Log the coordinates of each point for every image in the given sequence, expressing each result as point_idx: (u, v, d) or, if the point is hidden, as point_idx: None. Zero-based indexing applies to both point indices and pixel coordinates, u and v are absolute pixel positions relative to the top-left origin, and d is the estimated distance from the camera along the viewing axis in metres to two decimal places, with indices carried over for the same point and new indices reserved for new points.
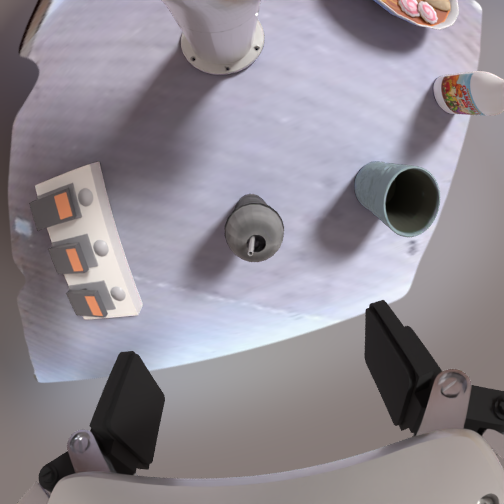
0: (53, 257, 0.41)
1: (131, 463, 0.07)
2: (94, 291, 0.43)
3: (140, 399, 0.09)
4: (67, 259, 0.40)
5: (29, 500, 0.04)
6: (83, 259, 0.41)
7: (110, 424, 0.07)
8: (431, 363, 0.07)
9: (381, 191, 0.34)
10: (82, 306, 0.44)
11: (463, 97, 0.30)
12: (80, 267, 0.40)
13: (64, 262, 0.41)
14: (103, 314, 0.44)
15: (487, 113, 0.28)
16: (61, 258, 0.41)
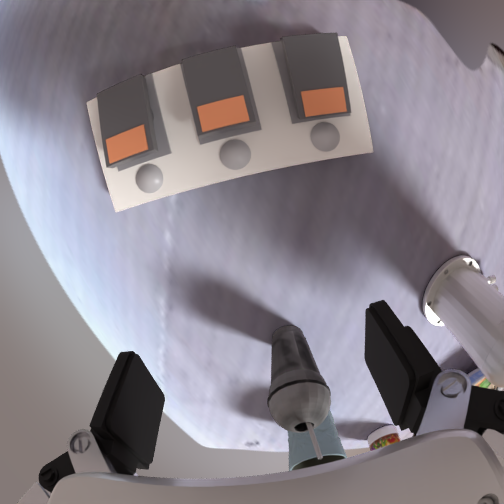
0: (218, 55, 0.21)
1: (131, 463, 0.07)
2: (156, 146, 0.23)
3: (140, 399, 0.09)
4: (220, 93, 0.21)
5: (29, 500, 0.04)
6: (223, 131, 0.23)
7: (110, 424, 0.07)
8: (431, 363, 0.07)
9: (326, 449, 0.36)
10: (118, 113, 0.22)
11: None
12: (208, 126, 0.22)
13: (211, 82, 0.21)
14: (112, 164, 0.23)
15: None
16: (220, 77, 0.21)
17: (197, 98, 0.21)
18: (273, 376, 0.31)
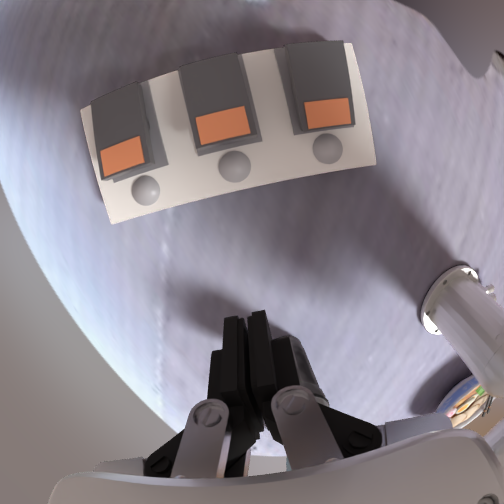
0: (218, 62, 0.20)
1: (253, 431, 0.08)
2: (152, 158, 0.22)
3: None
4: (220, 103, 0.21)
5: (119, 470, 0.06)
6: (222, 144, 0.22)
7: (244, 386, 0.08)
8: (293, 376, 0.08)
9: None
10: (113, 123, 0.21)
11: None
12: (207, 139, 0.21)
13: (210, 91, 0.20)
14: (107, 177, 0.22)
15: None
16: (219, 86, 0.20)
17: (195, 108, 0.21)
18: None
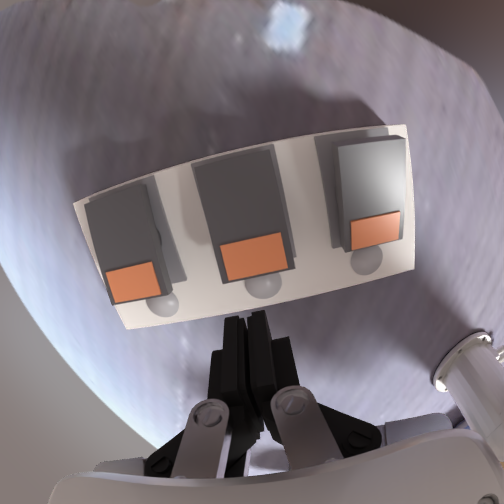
0: (246, 165, 0.18)
1: (253, 431, 0.08)
2: (169, 285, 0.20)
3: None
4: (250, 227, 0.18)
5: (119, 470, 0.06)
6: None
7: (244, 386, 0.08)
8: (292, 376, 0.08)
9: None
10: (116, 239, 0.19)
11: None
12: (236, 274, 0.19)
13: (237, 209, 0.18)
14: (118, 303, 0.20)
15: None
16: (249, 201, 0.18)
17: (219, 232, 0.18)
18: None
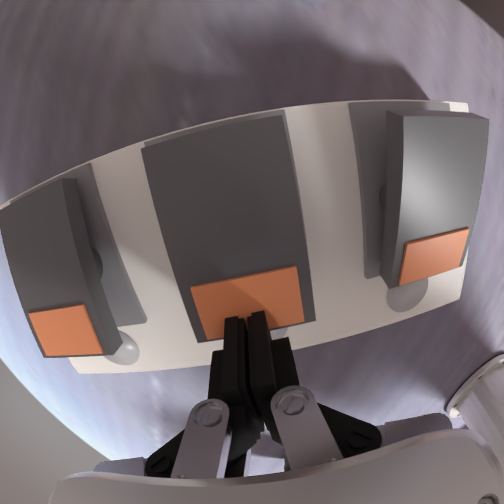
0: (237, 143, 0.09)
1: (253, 431, 0.08)
2: (116, 338, 0.12)
3: None
4: (243, 257, 0.10)
5: (119, 470, 0.06)
6: None
7: (244, 386, 0.08)
8: (292, 376, 0.08)
9: None
10: (35, 265, 0.10)
11: None
12: (219, 330, 0.11)
13: (220, 226, 0.10)
14: (51, 355, 0.11)
15: None
16: (241, 212, 0.10)
17: (189, 265, 0.10)
18: None
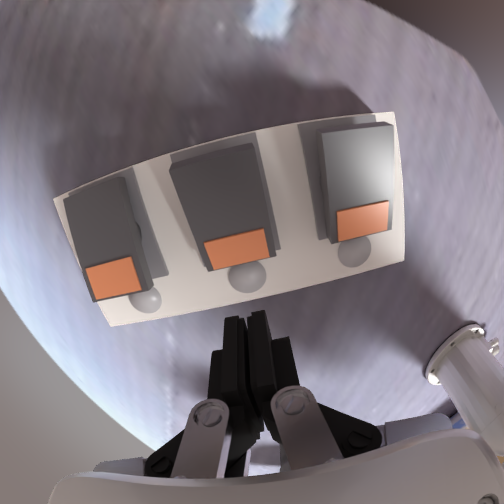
0: (228, 166, 0.16)
1: (253, 431, 0.08)
2: (150, 281, 0.19)
3: None
4: (233, 225, 0.18)
5: (119, 470, 0.06)
6: None
7: (244, 386, 0.08)
8: (292, 376, 0.08)
9: None
10: (95, 234, 0.18)
11: None
12: (221, 264, 0.20)
13: (220, 210, 0.17)
14: None
15: None
16: (231, 202, 0.17)
17: (202, 231, 0.18)
18: (283, 459, 0.28)
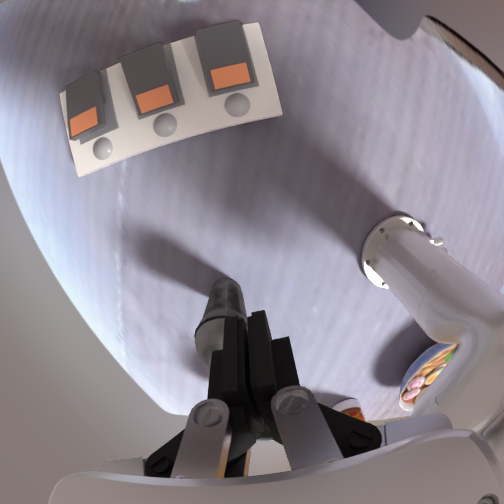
0: (147, 52, 0.24)
1: (253, 431, 0.08)
2: (104, 121, 0.27)
3: None
4: (151, 84, 0.26)
5: (119, 470, 0.06)
6: None
7: (244, 386, 0.08)
8: (292, 376, 0.08)
9: None
10: (79, 99, 0.26)
11: None
12: (145, 109, 0.28)
13: (144, 75, 0.26)
14: (73, 137, 0.27)
15: None
16: (149, 70, 0.25)
17: (135, 89, 0.26)
18: None
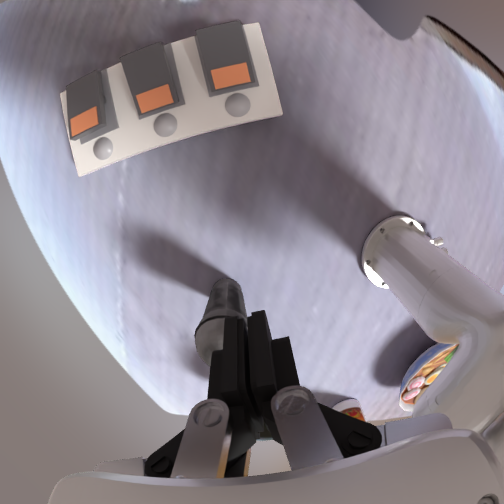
0: (147, 52, 0.24)
1: (253, 431, 0.08)
2: (104, 121, 0.27)
3: None
4: (151, 83, 0.26)
5: (119, 470, 0.06)
6: None
7: (244, 386, 0.08)
8: (292, 376, 0.08)
9: None
10: (80, 99, 0.26)
11: None
12: (145, 109, 0.28)
13: (144, 75, 0.26)
14: (74, 137, 0.27)
15: None
16: (150, 70, 0.25)
17: (135, 88, 0.26)
18: (203, 317, 0.36)
